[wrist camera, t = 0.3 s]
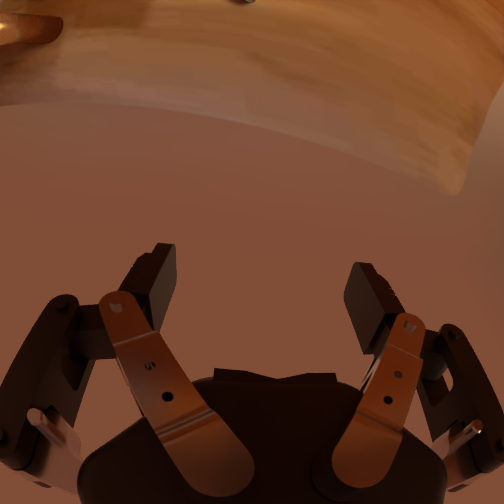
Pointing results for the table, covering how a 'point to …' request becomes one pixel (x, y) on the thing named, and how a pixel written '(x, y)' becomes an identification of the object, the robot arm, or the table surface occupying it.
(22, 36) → the bushing
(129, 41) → the table surface
